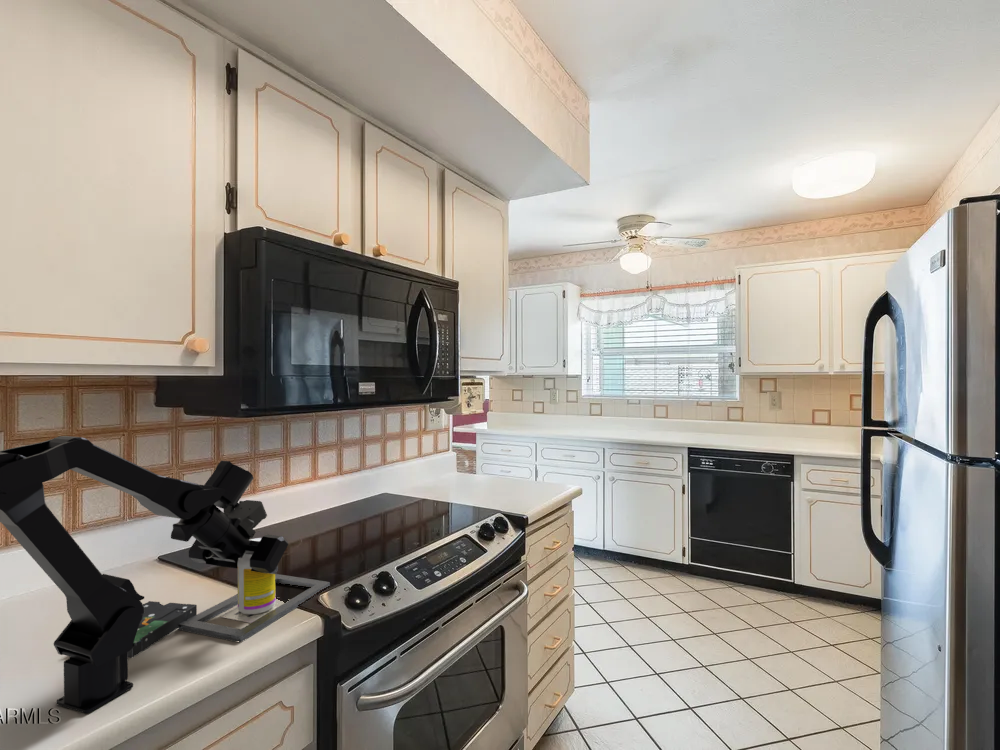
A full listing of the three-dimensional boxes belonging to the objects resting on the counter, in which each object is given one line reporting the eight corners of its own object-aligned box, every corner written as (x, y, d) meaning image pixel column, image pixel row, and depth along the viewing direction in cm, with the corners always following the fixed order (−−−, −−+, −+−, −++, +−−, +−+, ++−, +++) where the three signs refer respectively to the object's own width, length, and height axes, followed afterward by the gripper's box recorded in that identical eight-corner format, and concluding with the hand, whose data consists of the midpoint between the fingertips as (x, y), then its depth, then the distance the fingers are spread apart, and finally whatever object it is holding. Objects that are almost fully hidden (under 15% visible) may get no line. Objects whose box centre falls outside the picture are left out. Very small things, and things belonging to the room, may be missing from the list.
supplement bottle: (282, 606, 102) (282, 540, 102) (249, 619, 97) (249, 549, 97) (263, 597, 106) (263, 534, 106) (230, 609, 101) (230, 542, 101)
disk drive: (148, 615, 100) (75, 656, 86) (148, 600, 100) (75, 639, 86) (198, 618, 99) (133, 660, 84) (198, 603, 99) (133, 643, 84)
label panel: (240, 642, 89) (240, 636, 89) (178, 629, 93) (178, 624, 93) (329, 586, 112) (329, 582, 112) (276, 578, 116) (276, 574, 116)
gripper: (280, 493, 95) (320, 536, 105) (201, 486, 101) (246, 527, 111) (247, 551, 87) (293, 591, 98) (163, 540, 93) (215, 578, 104)
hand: (262, 569), depth 103 cm, fingers closed on supplement bottle, 7 cm apart
